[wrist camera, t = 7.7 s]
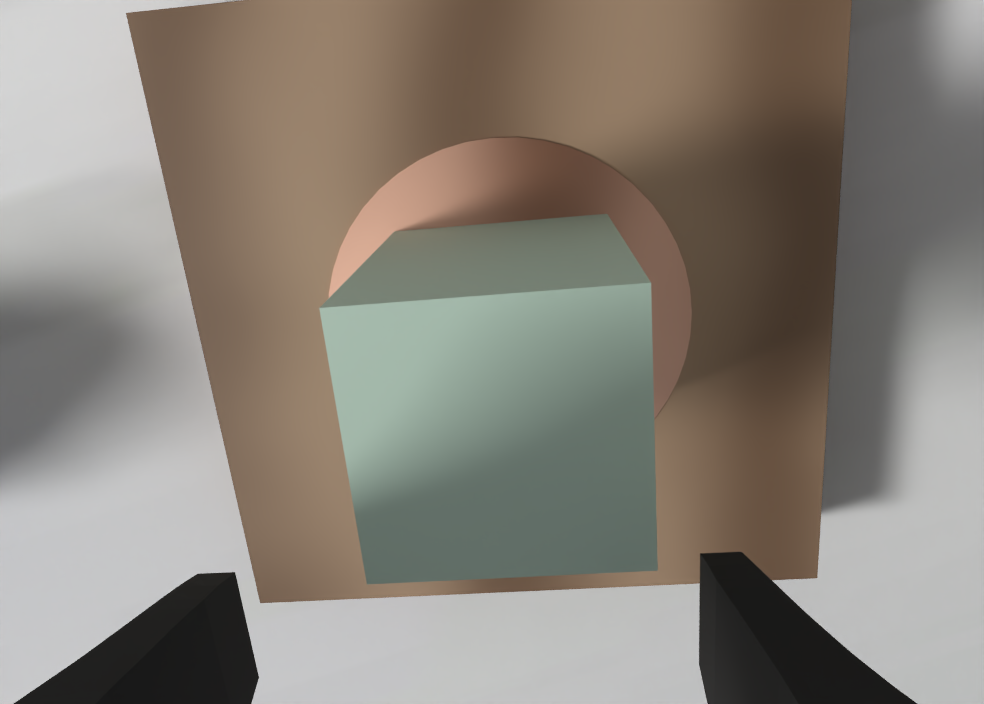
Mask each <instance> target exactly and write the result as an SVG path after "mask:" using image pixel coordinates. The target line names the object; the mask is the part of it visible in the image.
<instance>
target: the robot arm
mask: <svg viewBox="0 0 984 704" xmlns="http://www.w3.org/2000/svg"><path fill="white" fill-rule="evenodd" d="M699 666H700V670H701V675H702V680H703V684H704V689H705V693H706V698H707V703H708V704H917V703H915V702H914V701H913V700H911V699H910V698H909V697H907V696H906V695H905V694H903V693H902V692H900V691H899V690H898V689H896V688H895V687H894V686H892V685H891V684H890V683H889V682H887V681H886V680H885V679H884V678H882V677H881V676H880V675H879V674H877V673H876V672H875V671H873V670H872V669H871V668H870V667H868V666H867V665H866V664H865V663H863V662H862V661H861V660H859V659H858V658H857V657H856V656H855V655H853V654H852V653H851V652H850V651H849V650H847V649H846V648H845V647H844V646H843V645H842V644H840V643H839V642H838V641H837V640H836V639H835V638H834V637H832V636H831V635H830V634H829V633H828V632H827V631H826V630H825V629H823V628H822V627H821V626H820V625H819V624H818V623H817V622H815V621H814V620H813V619H812V618H811V617H810V616H809V615H808V614H807V613H806V612H805V611H803V610H802V609H801V608H800V607H799V606H798V605H797V604H796V603H795V602H794V601H793V600H792V599H791V598H790V597H789V596H788V595H786V594H785V593H784V592H783V591H782V590H781V589H780V588H779V587H778V586H777V585H776V584H775V583H774V582H773V581H772V580H771V579H770V578H769V577H768V576H767V575H766V574H765V573H764V572H763V571H762V570H761V569H759V568H758V567H757V566H756V565H755V564H754V563H753V562H752V561H751V560H750V559H749V558H748V557H747V556H746V555H745V554H744V553H742V552H721V553H700V626H699ZM258 679H259V676H258V672H257V668H256V663H255V659H254V654H253V650H252V645H251V641H250V637H249V632H248V628H247V623H246V619H245V615H244V610H243V606H242V601H241V597H240V592H239V588H238V584H237V579H236V575H235V572H232V573H207V574H197V575H195V576H194V577H192V578H190V579H189V580H187V581H186V582H184V583H183V584H181V585H180V586H178V587H177V588H175V589H174V590H173V591H171V592H170V593H168V594H167V595H166V596H164V597H163V598H161V599H160V600H159V601H157V602H156V603H155V604H153V605H152V606H151V607H149V608H148V609H146V610H145V611H144V612H142V613H141V614H140V615H138V616H137V617H136V618H134V619H133V620H132V621H130V622H129V623H128V624H126V625H125V626H123V627H122V628H121V629H119V630H118V631H117V632H115V633H114V634H113V635H111V636H110V637H108V638H107V639H106V640H104V641H103V642H102V643H100V644H99V645H98V646H96V647H95V648H93V649H92V650H91V651H89V652H88V653H87V654H85V655H84V656H83V657H81V658H80V659H78V660H77V661H75V662H74V663H72V664H71V665H70V666H68V667H67V668H65V669H64V670H62V671H61V672H59V673H58V674H56V675H55V676H53V677H52V678H51V679H49V680H48V681H46V682H45V683H43V684H42V685H40V686H39V687H37V688H36V689H35V690H33V691H32V692H30V693H29V694H27V695H26V696H24V697H23V698H21V699H20V700H18V701H17V702H16V703H14V704H251V702H252V699H253V696H254V692H255V689H256V685H257V682H258Z"/></svg>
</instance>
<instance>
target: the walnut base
mask: <svg viewBox="0 0 984 704" xmlns="http://www.w3.org/2000/svg"><path fill="white" fill-rule="evenodd" d="M851 5H852V0H243V1H234V2H224V3H215V4H206V5H197V6H187V7H178V8H169V9H159V10H150V11H141V12H132V13H126V15H127V19H128V24H129V28H130V32H131V37H132V41H133V46H134V50H135V54H136V59H137V63H138V68H139V72H140V76H141V81H142V85H143V90H144V94H145V98H146V103H147V107H148V112H149V116H150V120H151V125H152V129H153V134H154V138H155V142H156V147H157V151H158V155H159V160H160V164H161V169H162V173H163V177H164V182H165V186H166V191H167V195H168V199H169V204H170V208H171V213H172V217H173V221H174V226H175V230H176V235H177V239H178V243H179V248H180V252H181V257H182V261H183V265H184V270H185V274H186V279H187V283H188V287H189V292H190V296H191V301H192V305H193V309H194V314H195V318H196V322H197V327H198V331H199V336H200V340H201V344H202V349H203V353H204V358H205V362H206V366H207V371H208V375H209V380H210V384H211V388H212V393H213V397H214V402H215V406H216V410H217V415H218V419H219V424H220V428H221V432H222V437H223V441H224V446H225V450H226V454H227V459H228V463H229V468H230V472H231V476H232V481H233V485H234V489H235V494H236V498H237V503H238V507H239V511H240V516H241V520H242V525H243V529H244V533H245V538H246V542H247V547H248V551H249V555H250V560H251V564H252V569H253V573H254V577H255V582H256V586H257V591H258V595H259V599H260V603H272V602H294V601H317V600H339V599H361V598H383V597H406V596H428V595H450V594H473V593H495V592H517V591H540V590H562V589H584V588H606V587H629V586H651V585H673V584H696V583H700V553H721V552H742V553H744V554H745V555H746V556H747V557H748V558H749V559H750V560H751V561H752V562H753V563H754V564H755V565H756V566H757V567H758V568H759V569H761V570H762V571H763V572H764V573H765V574H766V575H767V576H768V577H769V578H770V579H771V580H785V579H807V578H817V572H818V555H819V539H820V522H821V505H822V489H823V472H824V455H825V439H826V422H827V405H828V389H829V372H830V355H831V339H832V322H833V305H834V288H835V272H836V255H837V238H838V222H839V205H840V188H841V172H842V155H843V138H844V122H845V105H846V88H847V72H848V55H849V38H850V22H851ZM597 214H608V216H609V217H610V219H611V220H612V222H613V224H614V225H615V227H616V228H617V230H618V231H619V233H620V235H621V236H622V238H623V239H624V241H625V242H626V244H627V246H628V247H629V249H630V250H631V252H632V253H633V255H634V257H635V258H636V260H637V261H638V263H639V264H640V266H641V268H642V269H643V271H644V272H645V274H646V275H647V277H648V279H649V280H650V282H651V298H652V342H653V386H654V430H655V473H656V517H657V561H658V571H640V572H619V573H598V574H577V575H556V576H535V577H514V578H493V579H472V580H450V581H429V582H408V583H387V584H367V582H366V577H365V571H364V565H363V559H362V553H361V548H360V542H359V536H358V530H357V524H356V519H355V513H354V507H353V501H352V495H351V490H350V484H349V478H348V472H347V466H346V461H345V455H344V449H343V443H342V437H341V432H340V426H339V420H338V414H337V408H336V403H335V397H334V391H333V385H332V379H331V374H330V368H329V362H328V356H327V350H326V345H325V339H324V333H323V327H322V321H321V316H320V310H319V308H320V307H321V306H322V305H323V304H324V303H325V302H326V301H327V300H328V299H329V298H330V297H331V296H332V295H333V293H334V292H335V291H336V290H337V289H338V288H339V287H340V286H341V285H342V284H343V283H344V282H345V281H346V280H347V279H348V278H349V277H350V276H351V275H352V274H353V273H354V272H355V271H356V270H357V269H358V268H359V267H360V266H361V265H362V264H363V263H364V262H365V261H366V260H367V259H368V258H369V257H370V256H371V255H372V254H373V253H374V252H375V251H376V250H377V249H378V248H379V247H380V246H381V245H382V244H383V243H384V242H385V241H386V240H387V239H388V238H389V237H390V235H391V234H392V233H393V232H394V231H406V230H418V229H430V228H442V227H454V226H466V225H478V224H490V223H502V222H514V221H526V220H538V219H550V218H561V217H573V216H585V215H597Z"/></svg>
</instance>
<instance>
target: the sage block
mask: <svg viewBox="0 0 984 704" xmlns="http://www.w3.org/2000/svg"><path fill="white" fill-rule="evenodd" d="M319 310H320V316H321V321H322V327H323V333H324V339H325V345H326V350H327V356H328V362H329V368H330V374H331V379H332V385H333V391H334V397H335V403H336V408H337V414H338V420H339V426H340V432H341V437H342V443H343V449H344V455H345V461H346V466H347V472H348V478H349V484H350V490H351V495H352V501H353V507H354V513H355V519H356V524H357V530H358V536H359V542H360V548H361V553H362V559H363V565H364V571H365V577H366V582H367V584H387V583H408V582H429V581H450V580H472V579H493V578H514V577H535V576H556V575H577V574H598V573H619V572H640V571H658V561H657V517H656V473H655V430H654V386H653V342H652V298H651V282H650V280H649V279H648V277H647V275H646V274H645V272H644V271H643V269H642V268H641V266H640V264H639V263H638V261H637V260H636V258H635V257H634V255H633V253H632V252H631V250H630V249H629V247H628V246H627V244H626V242H625V241H624V239H623V238H622V236H621V235H620V233H619V231H618V230H617V228H616V227H615V225H614V224H613V222H612V220H611V219H610V217H609V216H608V214H597V215H585V216H573V217H561V218H550V219H538V220H526V221H514V222H502V223H490V224H478V225H466V226H454V227H442V228H430V229H418V230H406V231H394V232H393V233H392V234H391V235H390V237H389V238H388V239H387V240H386V241H385V242H384V243H383V244H382V245H381V246H380V247H379V248H378V249H377V250H376V251H375V252H374V253H373V254H372V255H371V256H370V257H369V258H368V259H367V260H366V261H365V262H364V263H363V264H362V265H361V266H360V267H359V268H358V269H357V270H356V271H355V272H354V273H353V274H352V275H351V276H350V277H349V278H348V279H347V280H346V281H345V282H344V283H343V284H342V285H341V286H340V287H339V288H338V289H337V290H336V291H335V292H334V293H333V295H332V296H331V297H330V298H329V299H328V300H327V301H326V302H325V303H324V304H323V305H322V306H321V307H320V308H319Z"/></svg>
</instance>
